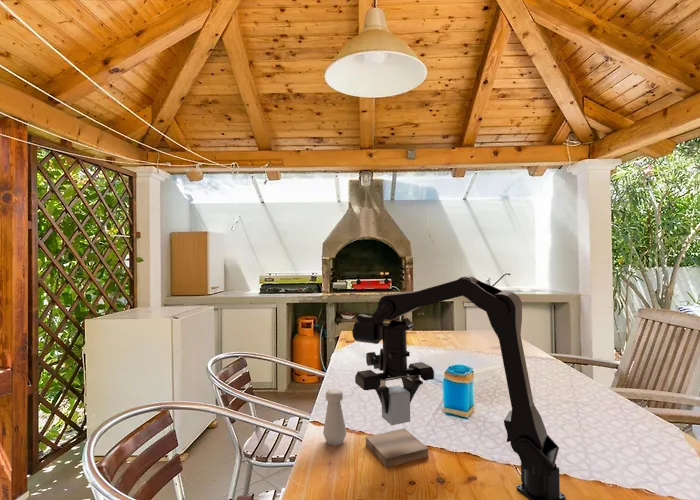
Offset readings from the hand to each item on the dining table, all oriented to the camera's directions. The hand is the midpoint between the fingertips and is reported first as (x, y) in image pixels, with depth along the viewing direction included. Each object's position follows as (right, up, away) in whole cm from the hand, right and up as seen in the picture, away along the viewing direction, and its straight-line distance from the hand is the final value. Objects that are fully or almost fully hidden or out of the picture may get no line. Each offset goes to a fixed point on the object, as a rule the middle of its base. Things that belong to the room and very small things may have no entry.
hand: (395, 411), depth 96 cm
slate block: (0, -2, 0) cm, 2 cm away
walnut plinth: (0, -10, 0) cm, 10 cm away
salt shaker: (-15, -10, +5) cm, 19 cm away
